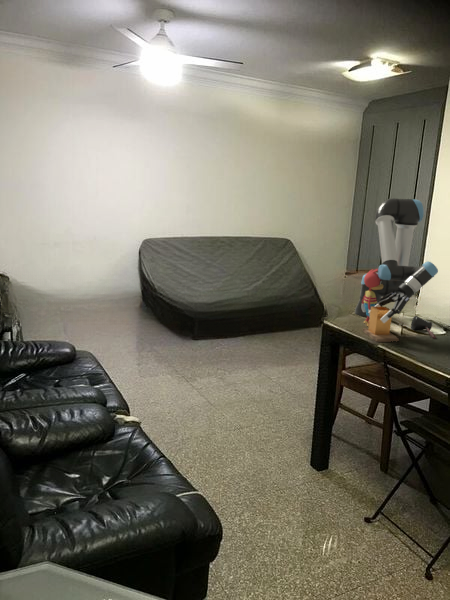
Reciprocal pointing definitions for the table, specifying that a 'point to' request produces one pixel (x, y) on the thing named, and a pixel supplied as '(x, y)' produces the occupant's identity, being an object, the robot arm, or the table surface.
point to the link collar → (379, 321)
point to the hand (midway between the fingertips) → (375, 317)
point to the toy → (370, 292)
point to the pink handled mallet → (422, 325)
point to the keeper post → (381, 336)
